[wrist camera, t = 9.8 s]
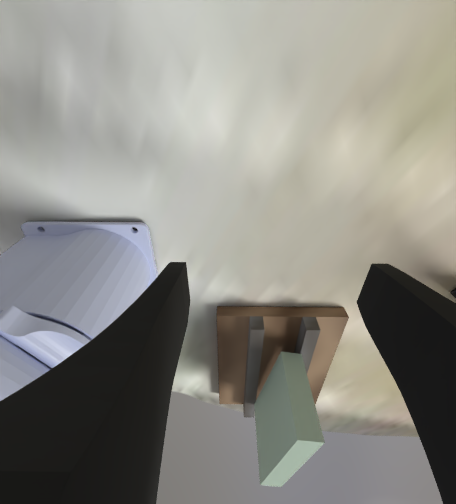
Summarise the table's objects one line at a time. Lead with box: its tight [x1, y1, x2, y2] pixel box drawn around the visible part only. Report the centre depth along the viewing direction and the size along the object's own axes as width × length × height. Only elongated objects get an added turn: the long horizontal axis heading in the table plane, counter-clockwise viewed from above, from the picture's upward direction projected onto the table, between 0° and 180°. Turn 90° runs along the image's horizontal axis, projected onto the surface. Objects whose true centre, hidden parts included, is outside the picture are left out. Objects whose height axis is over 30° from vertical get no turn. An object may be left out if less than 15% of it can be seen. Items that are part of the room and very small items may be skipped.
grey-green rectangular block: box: [254, 352, 325, 487], centre depth 23 cm, size 2×10×7 cm, turn 169°
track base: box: [217, 306, 349, 417], centre depth 27 cm, size 12×16×3 cm
